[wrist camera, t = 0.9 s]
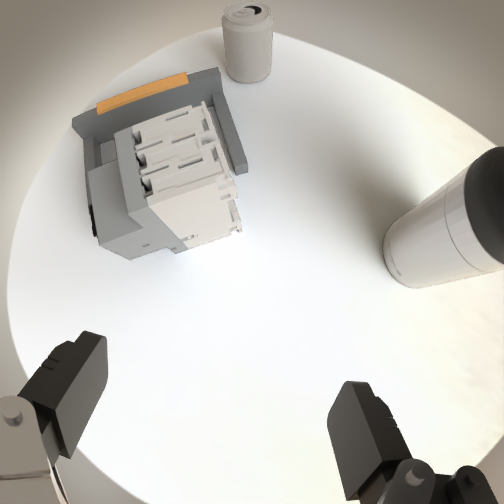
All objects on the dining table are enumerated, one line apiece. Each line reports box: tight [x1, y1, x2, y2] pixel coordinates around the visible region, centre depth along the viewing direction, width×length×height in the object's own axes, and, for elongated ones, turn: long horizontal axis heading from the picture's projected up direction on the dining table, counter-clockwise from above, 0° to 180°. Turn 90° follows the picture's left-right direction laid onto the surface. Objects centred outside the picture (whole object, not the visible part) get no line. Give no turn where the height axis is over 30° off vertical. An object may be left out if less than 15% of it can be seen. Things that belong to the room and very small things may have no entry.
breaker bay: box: [72, 67, 248, 215], centre depth 36 cm, size 20×13×7 cm, turn 107°
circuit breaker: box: [88, 101, 242, 260], centre depth 30 cm, size 8×14×15 cm, turn 109°
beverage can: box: [222, 0, 273, 83], centre depth 36 cm, size 6×6×12 cm
